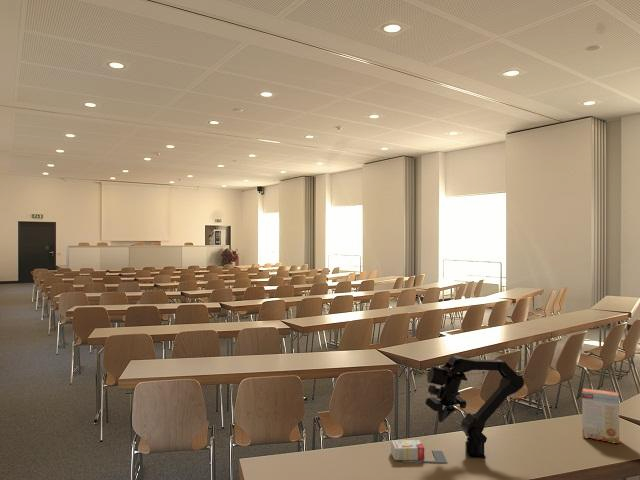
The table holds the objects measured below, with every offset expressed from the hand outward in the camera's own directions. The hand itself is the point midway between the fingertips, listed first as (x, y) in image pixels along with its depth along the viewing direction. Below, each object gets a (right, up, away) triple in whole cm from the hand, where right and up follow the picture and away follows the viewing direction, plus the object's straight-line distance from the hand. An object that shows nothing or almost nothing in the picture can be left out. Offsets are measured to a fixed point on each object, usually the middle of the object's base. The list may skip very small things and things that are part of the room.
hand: (440, 421), depth 203 cm
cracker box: (+74, -13, +14) cm, 76 cm away
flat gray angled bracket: (-8, -12, -5) cm, 15 cm away
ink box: (-8, -9, -4) cm, 13 cm away
